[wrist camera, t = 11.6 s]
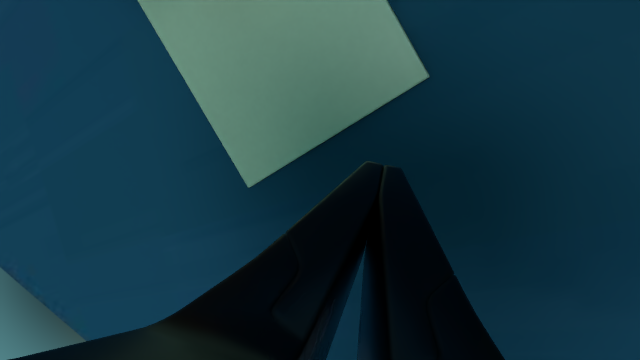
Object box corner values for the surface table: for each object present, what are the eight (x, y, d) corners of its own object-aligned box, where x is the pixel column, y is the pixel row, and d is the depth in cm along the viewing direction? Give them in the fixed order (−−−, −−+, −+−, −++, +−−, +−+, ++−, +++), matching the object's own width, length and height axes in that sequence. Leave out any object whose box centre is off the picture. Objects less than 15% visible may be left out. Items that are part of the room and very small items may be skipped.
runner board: (430, 76, 18) (429, 76, 18) (251, 186, 24) (248, 188, 24) (287, -178, 18) (283, -183, 17) (142, 0, 24) (137, -1, 23)
